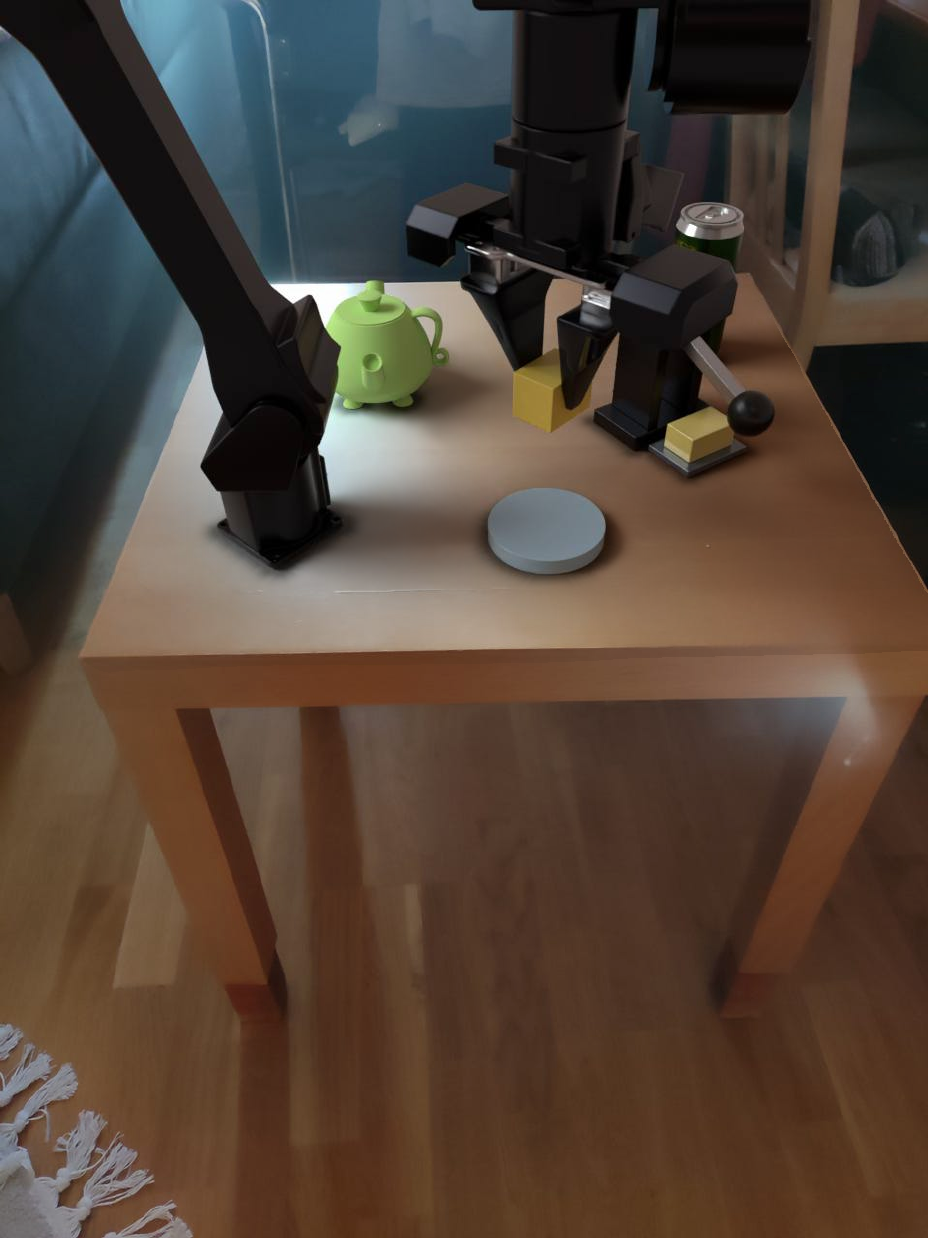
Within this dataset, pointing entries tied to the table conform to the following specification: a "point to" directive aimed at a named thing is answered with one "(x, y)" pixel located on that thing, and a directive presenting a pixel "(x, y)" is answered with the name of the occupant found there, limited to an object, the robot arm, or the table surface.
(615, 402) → the cutter
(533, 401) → the butter pat
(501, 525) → the plate
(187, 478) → the table surface
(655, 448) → the butter dish
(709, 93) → the robot arm
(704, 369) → the arm
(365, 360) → the teapot
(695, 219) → the beer can
